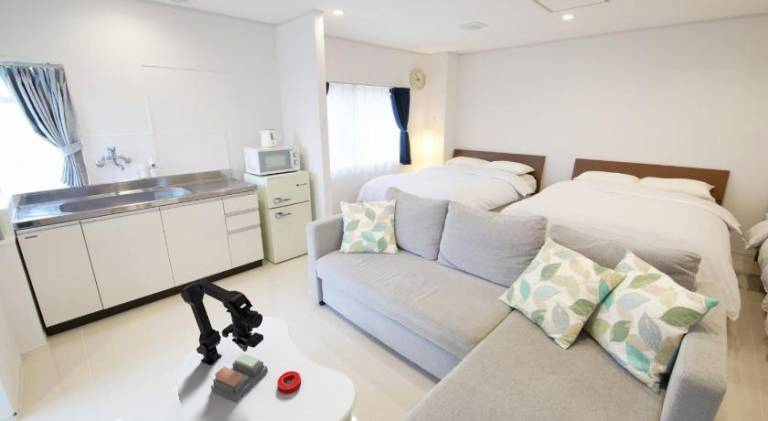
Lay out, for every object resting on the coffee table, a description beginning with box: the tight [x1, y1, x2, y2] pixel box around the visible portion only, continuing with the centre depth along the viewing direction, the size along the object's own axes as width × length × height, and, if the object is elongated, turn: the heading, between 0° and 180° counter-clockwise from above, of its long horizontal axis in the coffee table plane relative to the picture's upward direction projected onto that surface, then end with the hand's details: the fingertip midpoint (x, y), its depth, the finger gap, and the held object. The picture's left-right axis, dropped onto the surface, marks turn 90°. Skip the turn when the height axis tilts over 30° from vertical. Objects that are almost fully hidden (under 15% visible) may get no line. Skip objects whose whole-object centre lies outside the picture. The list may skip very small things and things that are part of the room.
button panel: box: [210, 360, 269, 404], centre depth 145 cm, size 14×18×6 cm
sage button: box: [234, 352, 261, 371], centre depth 148 cm, size 10×4×4 cm, turn 65°
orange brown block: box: [214, 366, 242, 388], centre depth 139 cm, size 10×4×4 cm, turn 65°
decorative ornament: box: [276, 370, 302, 395], centre depth 143 cm, size 10×10×3 cm
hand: (245, 351), depth 146 cm, fingers closed
